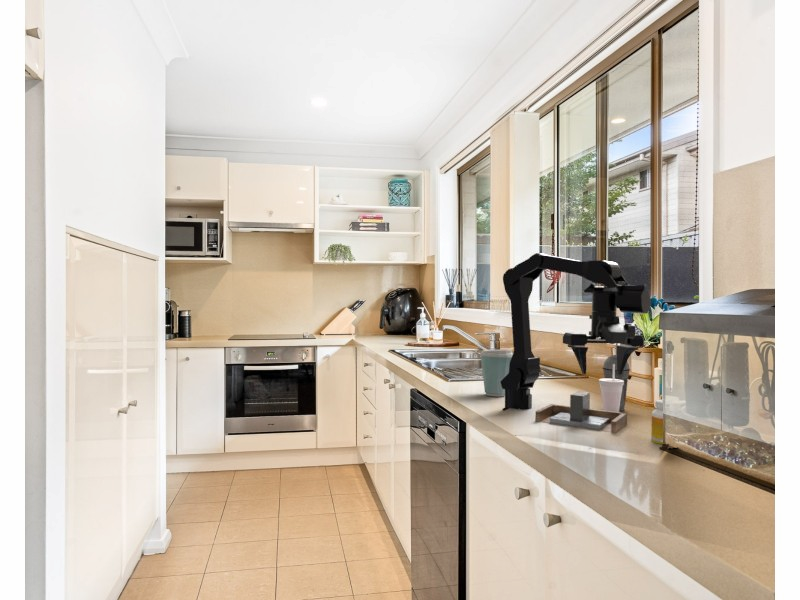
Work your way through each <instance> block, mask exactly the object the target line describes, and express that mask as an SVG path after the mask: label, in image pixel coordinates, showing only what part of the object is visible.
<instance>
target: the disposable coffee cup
mask: <svg viewBox="0 0 800 600" xmlns="http://www.w3.org/2000/svg"><path fill="white" fill-rule="evenodd" d="M512 350H513V349H512V348H510V349H509V348H507V349H484V350H482V351H480V355H479V356H480V360H481V361H480V362H481V370H482V378H483V386H484V393H485V395H486V396H489V397H505V389H502V386H501V380H502V379H503V378H504V377H505V376H506V375H507V374H508V373H509V364H510V360H511V358H512V355H513V352H512Z"/></svg>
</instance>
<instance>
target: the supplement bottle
mask: <svg viewBox="0 0 800 600" xmlns="http://www.w3.org/2000/svg"><path fill="white" fill-rule="evenodd" d="M662 400H663V399H655V401H654V402H655V404H654V405H655V409H654V410H652V411H651V432H650V433H651V435H650V437H651V438H650V440H651V442H653V443H654V444H658V445H663V402H662Z"/></svg>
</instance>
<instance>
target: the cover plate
mask: <svg viewBox="0 0 800 600" xmlns="http://www.w3.org/2000/svg"><path fill="white" fill-rule="evenodd" d="M569 395H570V397H569V399H570V400H569V406H570V413H565V412H561V413H559V414H557V415H555V416H553V417H551V418H550V423H553V424H552V425H557V424H560V425H559V426H564V425H567V426H566V427H571V426H574V427H573V428H578V427H581V428H580V429H585V428H588V429H587V430H592V429H595V430H594V431H599V430H601V429H603V428H604V427H605V426H607V425H608V424H609V423H610V418H604V417H596V416H589V415H590V409H591V407H590V404H591V403H590V401H591V398H590V397H591V392H587V391H576V392H574V393H571V394H569ZM550 423H549V424H550Z"/></svg>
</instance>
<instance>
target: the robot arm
mask: <svg viewBox="0 0 800 600" xmlns="http://www.w3.org/2000/svg"><path fill="white" fill-rule="evenodd" d="M545 270H550V271H556V272H561V273H566V274H571V275H576V276H579V277H581V278H584V279H585V280H587V281H590V282H593V283H590V284H589V286H587V287H586V288H585V289H584V290H583V292H584V293H586V294H587V293H591V294H592V295H591V296H592V299H591V300H592V301H591V314H589V317H588V318H589V320H591V322H590V323H591V324H590V326H591V327H590V328H591V329H590V330H589V331H588V335H587V334H586V333H582V332H565V333H564V334H563V335H562V344H565V345H567V348H570V349H571V351H572V352H573V354H574V356H575V358H576V360H577V363H578V366H579V368H580V371H581V373H582V374H583V375H586V374H587V352H588V349H589V347H588V346H586V345H587V344H609V345H616V343H618V344H619V345H618V346H617V371H618V374H619V375H621V374H622V372H623V369H624V367H625V365H626V362H628V361H629V358H630V356H631V355H632V354H633V353H634V352H635V351H639V349H640V348H644V347H645V339H644V337H643V335H641V334H636V325H635V324H634V323H630V322H629V323H624V324H621V323H620V316H617V309H619V312H621V313H627V314H628V313H629V314H648V313H649V311H650V309H651V307H652V306H651V304H652V299H651V295H650V292H649V290H648V285H647V284H636V285H633V284H632V285H631V284H629V283H628V282H627V280H626V279H625V277H624V276H623V274H622V269H621V267H620V265H619V264H618V263H617V262H614V261H609V260H601V259H600V260H575V259H572V258H567V257H566V258H565V257H560V256H554V255H549V254H546V253H541V252H540V253H539V252H537V253H533V254H532V255H531V256H530V257H529V258H527V259H525V260H523V261H522V262H520V263H518V264H517V265H515V266H514V267H511V268H508V269H507V270H506V271H505V272H504V273H503V276H502V282H503V288H504V292H505V293H506V295H507V297H508V299H509V300H510V312H511V313H510V314H511V328H512V345H513V346H512V348H513V352H512V353H513V355H512V358H511V360H510V364H509V373H508V374H507V375H506V376H505V377H504V378H503V379H502V380H501V386H502V389H505V396H504V407H503V408H502V409H501V410H502V411H505V412H506V410H509V409H512V410H513V409H514V410H530V409H533V405H532V404H533V395H532V394H531V388H532V389H533V388H534V385H535V383H536V382H537V380H538V379H539V377H540V373H541V372H542V370H541V367H540V366H541V365H540V364H541V359H540V357H539V356H537V357H536V356H535V355H534V353H533V350H532V340H531V339H532V338H531V325H530V324H531V323H530V307H529V299H530V298H531V297H530V296H531V294H532V292H533V285H534V282H535V280H537V279H538V278H539V277H540V276H541V275H542V273H543V272H544V271H545ZM597 284H598V285H599V284H600V285H603V286H598V285H597ZM611 289H617V290H616V291H615V290H611ZM639 347H640V348H639Z"/></svg>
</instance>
